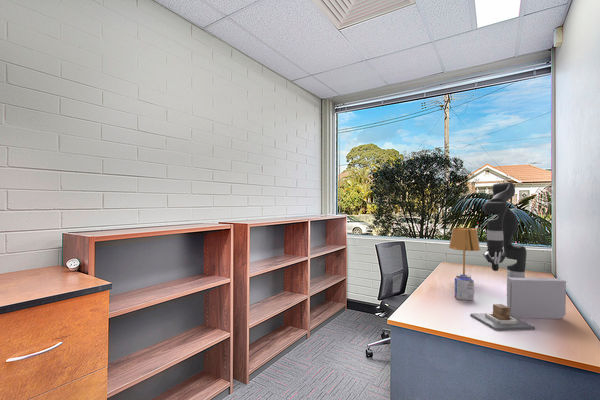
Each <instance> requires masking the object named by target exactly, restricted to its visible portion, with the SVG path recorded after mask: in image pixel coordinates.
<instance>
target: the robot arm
mask: <svg viewBox="0 0 600 400" xmlns="http://www.w3.org/2000/svg"><path fill="white" fill-rule="evenodd" d="M491 191H492V194H493V197H492V198H491V199H489V200H487V201H486V202H485V203H484V205H483V208H482V211H483V212H484V214H486V215H489V216H497V217H496V218H491V219H487V223H486V224H487V225H486V226H487V228H486V229H487V231H486V247H487V249H486V251H485V253H483V254H482V256H483V257H484V258H485V260H486V261H487V262H488V263H490V264H491V270H492V271H493V272H498V271H499V270H500V269H499V267H500V266H499V264H502V263H503V261H504V260H505V259H509V260H514V261H515V260H516V262H515V263H513V264H512V263H511V264H507V266H506V278H507V277H510V278H526V265H527V263H526V262H527V248H526V247H525V246H523V245H518V244H513V243H512V238H513V236H514V234H515V233H516V232H517V230H518V227H519V223H518V218H517V215H516V214H515V213H514V212H513V210H511V209H510V208H509V207H508V206H507V202H508V201H510V199H512V198H514V195H516V194H515V193H516V186H515V184H514V183H513V182H509V181H508V182H498V183H493V185H492V190H491Z"/></svg>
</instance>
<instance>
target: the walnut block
mask: <svg viewBox="0 0 600 400" xmlns="http://www.w3.org/2000/svg"><path fill="white" fill-rule="evenodd" d="M492 313H493V317H495V318H496V319H498V320H510V307H507V305H506V304H503V303H498V304H497V303H494V304H492Z"/></svg>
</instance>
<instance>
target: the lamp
mask: <svg viewBox="0 0 600 400" xmlns="http://www.w3.org/2000/svg"><path fill="white" fill-rule="evenodd" d="M448 249H452V250H456V251H462V273H459V272H457V273H456V275H455V276H456V277H455V278H460V275H466V276H467V279H472V274H469V273H468V274H466V273H465V272H466V252H467V251H468V252H479V251H481V247H480V241H479V235H478V230H477V228H472V227H452V231H451V235H450V240H449V246H448ZM461 277H465V276H461Z"/></svg>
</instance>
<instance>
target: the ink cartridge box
mask: <svg viewBox="0 0 600 400" xmlns="http://www.w3.org/2000/svg"><path fill="white" fill-rule="evenodd" d="M461 276H465V277H461ZM474 281H475V280H474V279H472V278H471V279H467V276H466V275H460V278H456V277H455V278H454V297H455V299H456V300H463V301H464V300H465V301H474V297H475V295H474V294H475V293H474V292H475V291H474V287H475V285H474V284H475V283H474Z"/></svg>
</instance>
